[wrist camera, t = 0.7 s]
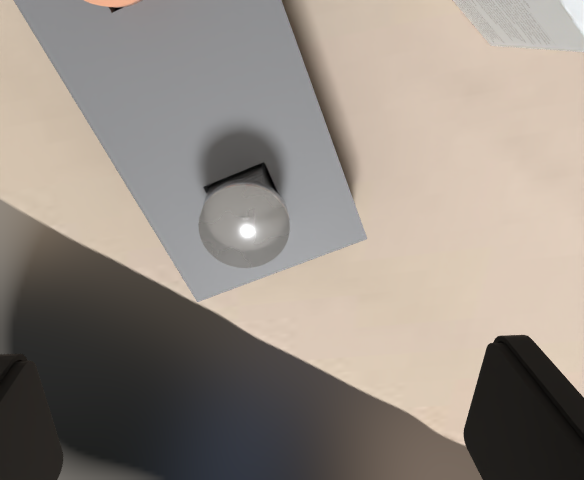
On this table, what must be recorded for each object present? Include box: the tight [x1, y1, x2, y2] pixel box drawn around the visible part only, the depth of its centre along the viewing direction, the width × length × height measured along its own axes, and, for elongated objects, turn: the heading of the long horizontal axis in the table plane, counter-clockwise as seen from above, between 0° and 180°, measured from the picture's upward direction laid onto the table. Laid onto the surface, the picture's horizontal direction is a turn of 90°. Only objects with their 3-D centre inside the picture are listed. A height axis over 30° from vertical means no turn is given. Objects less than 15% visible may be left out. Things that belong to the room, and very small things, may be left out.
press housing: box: [14, 0, 367, 302], centre depth 30 cm, size 14×28×6 cm, turn 22°
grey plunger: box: [199, 162, 290, 268], centre depth 30 cm, size 6×6×6 cm
